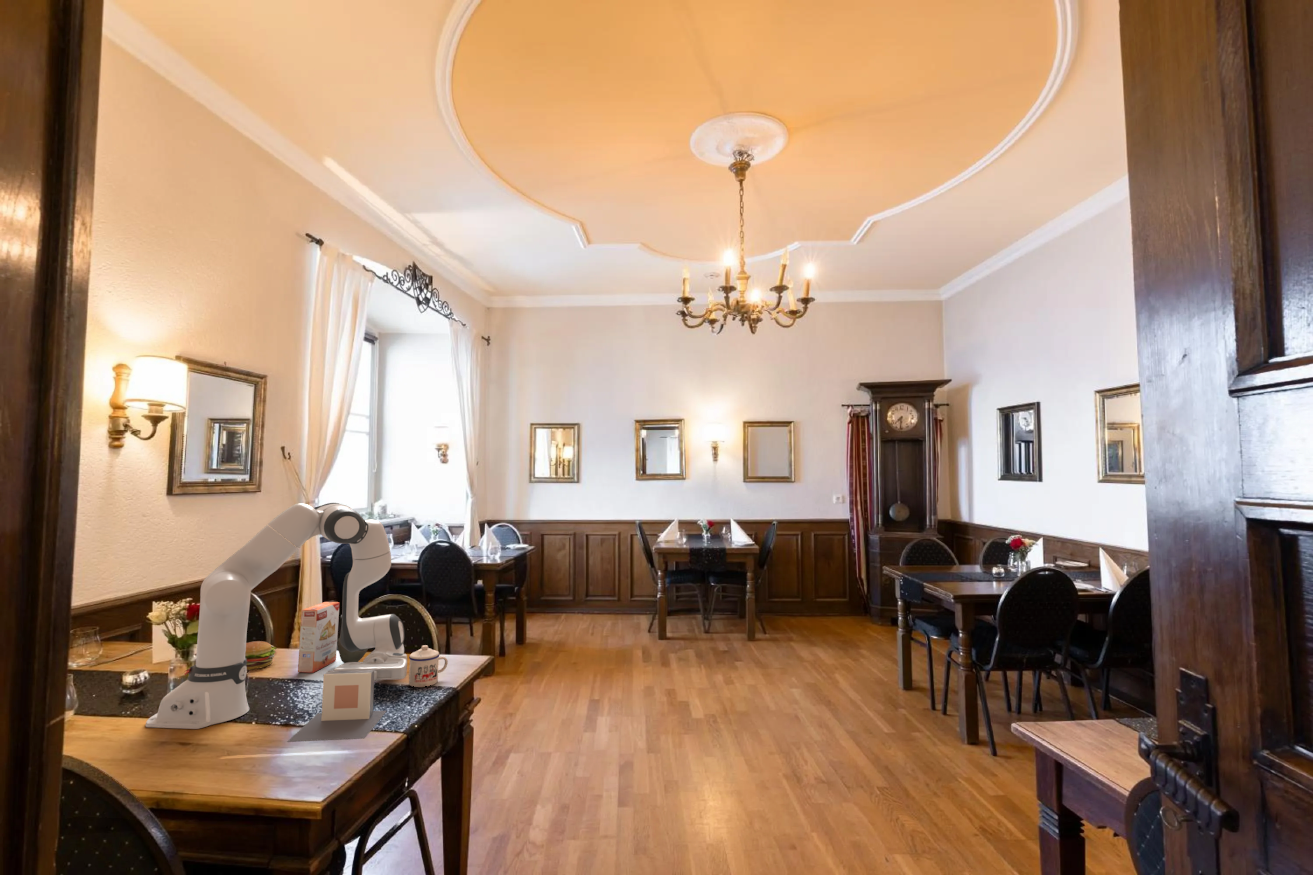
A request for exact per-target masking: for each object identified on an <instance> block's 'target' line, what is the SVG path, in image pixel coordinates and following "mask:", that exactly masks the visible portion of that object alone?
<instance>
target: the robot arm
mask: <svg viewBox="0 0 1313 875" xmlns="http://www.w3.org/2000/svg"><path fill="white" fill-rule="evenodd" d="M318 535H319V536H320V535H321V536H322V537H323V538H325V539H326V540H328V541H331V542H333V543H335V544H342V545H343V544H345V545H347V544H349V548H351V556H352V567H351V570H350V571H349V572H347V573H346V574H345V577H344V581H343V586H342V606H341V607H342V608H341V609H342V610H341V613H342V616H341V625H340V626H341V627H340V632H339V633H340V635H339V637H340V638H339V639H340V643H341V645H342V646H343V647H344V648H345V649H346V650H348V651H350V652H355V651H359V650H363V649H367V648H368V649H372V648H373V649H374V648H375V649H374V650H373V651H371V652H370V653H369V654H368V655H366V656H365V657H364V659H363V661H358V662H348V663H342V664H340V665H338V666H336V667H335V668H333V671H349V670H375V671H374V682H380V681H387V680H389V681H390V680H392V681H393V680H394V681H395V680H403V679H405V678H406V676H407V674H408V672H407V671H408V670H407V669H408V654H406V653H405V647H404V642H405V633H406V632H405V627H404V626H405V625H404V623H403V621H402V620H401V619H400V617H399V616H397V615H396V614H395V613H390V614H382V615H377V616H370V617H363V618H361V617H360V616H359V599H360V598H359V597H360V595H359V594H360V592H361V591H362V590H363V589H364V588H365V589H366V588H367V587H368V586H371V585H372V584H374V583H377V582H378V581H379V580H381V579H383V578H384V577H385V576H387V575H386V574H388V572H389V571H390V569H391V567H392V555H391V547H390V544H389V543H390V542H389V539H388V536H387V535H388V534H387V531H386V529H385V527H384V525H383V523H382V522H380V521H379V520H376V519H371V518H370V519H364V518H363V517H362V516H361V514H359V513H358V512H357V511H356V510H354V509H352V508H351V507H350V506H348V505H347V504H346V505H345V504H343V503H338V502H328V503H325V504H322V505H319V506H315V507H313V506H311V505H309V504H307V503H302V502H300V503H294V504H292V505H291V506H290V507H288V508H286V509H285V510H284V511H282V512H281V513H280V514H278V515H277V516H276V517H274V518H273V519H272V520H271V521H270V522H268V523H267V524H266V525H265V526H264V527H263V528H262V529H260V531H259V532H257V533H256V534H255V535H254V536H253V537H252V538H250V540H249V541H248V542H246V543H245V544H244V545H243V546H241V547H240V548H239V549H238V550H237V551H236V552H235V553H232V555H230V556H229V557H228V558H227V559H225V561H223V562H222V563H221V564H220V565H218V567H216V568H215V569H214V570H213V571H211V573H209V574H208V575H207V576H206V577H205V578H204V580H203V581H202V583H201V585H200V595H199V597H200V599H199V600H200V603H199V616H198V628H197V638H196V639H197V642H196V656H195V664H193V665H191V666H190V667H189V668H188V669H186V670H184V674H183V675H185V676H187V675H188V676H187V679H186V680H185V681H183V682H182V683H180V684H179V685H178V686H177V687H175V688H173V689H172V690H171V691H170V692H169V693H167V694H166V695H165V696H163V697H162V699H161V700H160V703H159V707H158V711H157V713H155V714H154V715H152V716H150V717H149V718H148V719H147V720H146V722H145V727H146V728H159V729H161V728H163V729H187V730H188V729H191V730H199V729H202V728H205V727H208V726H212V725H216V724H220V723H224V722H227V721H231V720H234V719H237V718H239V717H241V716H243V715H245V714H247V713H248V712H249V711H250V707H249V704H248V699H247V694H246V693H247V692H246V679H247V678H246V677H247V672H248V670H247V659H246V658H245V652H246V643H247V635H248V634H247V633H248V632H247V631H248V622H249V614H250V605H251V594H252V593H251V592H252V591H253V589H254V588H256V587H257V586H259V584H261V583H262V582H263V581H264V580H265V579H267V578H268V577H269V576H270V575H272V574H273V573H274V572H277V571H278V569H280V568H281V567H282V565H284V563H286V562H287V561H288V560H289V559H290V558H291V557H292V556H293V555H294V554H295V553H296V552H297V551H299V549H300V548H301V547H302V546H303V545H304V544H305V543H307V541H309V540H310V539H312V538H313V537H315V536H318Z"/></svg>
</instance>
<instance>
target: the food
mask: <svg viewBox="0 0 1313 875" xmlns="http://www.w3.org/2000/svg"><path fill="white" fill-rule="evenodd" d="M276 649H277V647H276V646H272V645H271V644H270V643H269V642H267V641H262V640H261V641H260V640H257V641H249V642H246V652H245V658H246V659H247V671H251V670H257V669H262V668H264V667H268V666H269V665H271V664H272V663H273V660H274V659H273V658H274V657H275V653H276Z"/></svg>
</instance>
